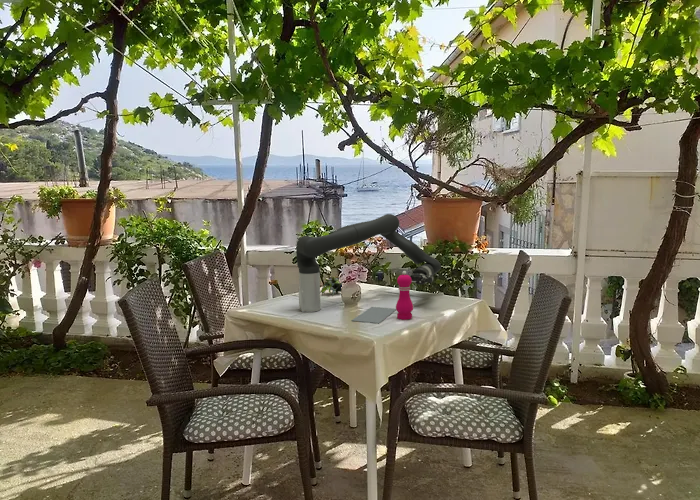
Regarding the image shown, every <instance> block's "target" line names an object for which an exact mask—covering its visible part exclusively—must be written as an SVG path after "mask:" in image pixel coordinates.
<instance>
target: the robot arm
mask: <svg viewBox="0 0 700 500" xmlns="http://www.w3.org/2000/svg"><path fill="white" fill-rule="evenodd" d="M399 226H400V220H399V218H398V217H397V216H396V215H395V214H391V213H387V214H383V215H382V216H380V217H378V218H375V219H372V220H368V221H362V222H358V223H353V224H349V225H345V226H342V227H339V228H338V229H336V230H334V231H333V232H331V233H329V234H326V235H321V236H320V235H319V236H315V237H314V236H309V235H304V236H300V238H298V240H297V241H296V245H295V254H296V255H295V256H296V264H297V268H298V275H299V276H298V277H299V278H298V281H299V286H298V287H299V288H298V308H299V309H298V310H299V311H300V312H302V313H304V312H305V313H306V312H307V313H311V312H312V313H314V312H318V311H320V310H322V308H321V304H322V303H321V293H320V291H321V274H320V272H321V271H320V265H319V263H318V262H317V257H320V256H321V255H324V254H326V253H329V252H330V251H334V250H337V249H343V248H346V247H350V246H353V245H358V244H359V243H362V242H365V241H367V240H369V239H370V238H373V237H375V236H376V237H377V236H378V235H380V236H382V237H383V238H384V239H385V240H387V241H389V242H390V243H391V244H392V245H394V246H395V247H397V248H398V249H399V250H400V251H402V252H403V254H405V255H406V257H408V258H409V259H410V260H411V261H412V262H413V263H414V264H415V265H419V264H422V263H424V264H423V265H420V266H418V267H416V268H415V269H414V270H413V271H412V272H411V274H408V275H409V276H410V277H411V279H412V283H414V284H416V285H422V286H423V285H424V284H427V283H429V284H432V283H433V282H434V276H435V274H437V273H438V272H440V270H441V269H442V264H441V262H440V261H439V260H437V259H436V258H435V257H433V256H431V255H429V254H428V253H426V252H424V250H422V249H421V248H420V247H419V245H417V244H416V243H415V242H413V241H412V240H411V239H408V238H406V237H404V236H403V235H401V233H399V232H397V230H398V228H399Z"/></svg>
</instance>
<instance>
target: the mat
mask: <svg viewBox="0 0 700 500" xmlns="http://www.w3.org/2000/svg"><path fill="white" fill-rule="evenodd" d="M395 312H397V310H396V308H392V307H380V306H371V307H369V308H368V309H366V310H365V311H363V312H362V313H361V314H359V315H357V316H355V318H353V319H351V322H355V321H359V322H358V323H365V322H370V323H369V324H376V323H378V324H379V323H380V324H381V323H382V322H383V321H384V320H386V319H388V317H390V316H391V315H392V314H393V313H395ZM380 324H379V325H380Z"/></svg>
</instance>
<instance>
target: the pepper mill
mask: <svg viewBox="0 0 700 500" xmlns="http://www.w3.org/2000/svg"><path fill="white" fill-rule="evenodd" d="M401 273H402V274H400V275H399V276H398V277H397V279H396V280H397V281H396V283H397V284H398V290H399V294H398V295H399V296H398V299H397V301H396V304H395V309H396V312H397V313H396V318H397V319H398V320H402V321H403V320H404V321H407V320H411V319H412V318H413V313H412V312H413V310H414V305H413V301H412V299H411V295H410V291H411V284H412V283H413V282H412V279H411V277H410V276H409V274H407V271H406V270H403V271H402V272H401Z"/></svg>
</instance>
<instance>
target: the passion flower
mask: <svg viewBox="0 0 700 500" xmlns="http://www.w3.org/2000/svg"><path fill="white" fill-rule="evenodd" d="M339 278H340V277H339V276H336V275H335V276H334V275H333V276H332V277H331V278H325V279H324V280H325V281H324V282H323V283H324V284H323V286H322V288H321V289H320V294H322V295H324V294H325V292H326V291H328V293H329V294H331V293H332V295H331V297H333V296H334V294H335V293H336V294H338V293H341V290H342V289H341V287H342V283H343V282H342V283H340V282H339ZM331 291H332V292H331Z"/></svg>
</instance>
